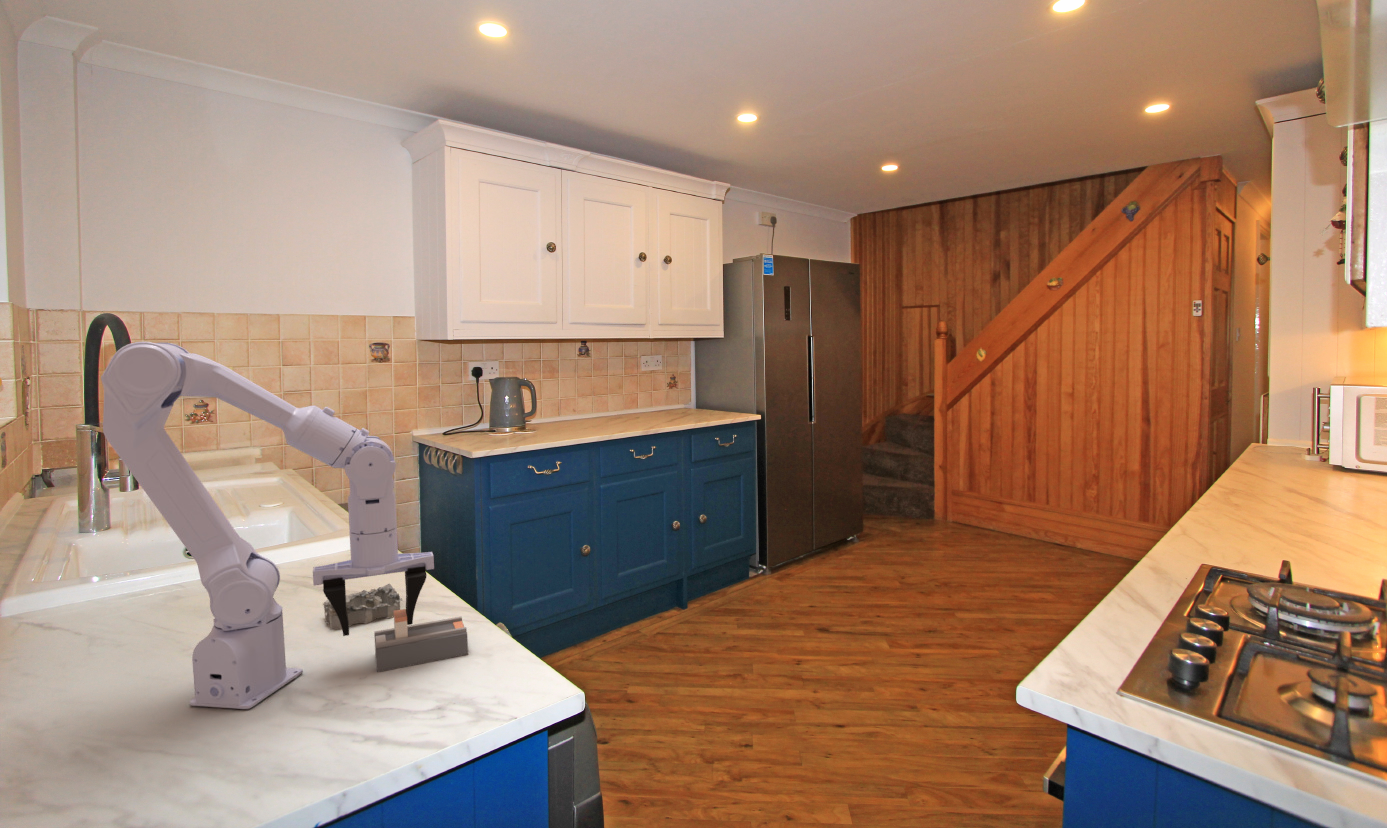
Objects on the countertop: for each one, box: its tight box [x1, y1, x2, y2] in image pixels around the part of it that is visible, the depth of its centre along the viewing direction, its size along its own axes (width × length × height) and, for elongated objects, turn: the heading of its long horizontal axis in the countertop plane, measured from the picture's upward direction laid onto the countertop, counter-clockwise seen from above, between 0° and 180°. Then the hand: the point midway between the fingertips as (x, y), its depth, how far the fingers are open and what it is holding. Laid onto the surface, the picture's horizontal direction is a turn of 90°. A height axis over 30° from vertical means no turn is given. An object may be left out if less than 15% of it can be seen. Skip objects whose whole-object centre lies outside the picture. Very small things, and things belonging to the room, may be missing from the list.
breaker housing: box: [373, 616, 469, 673], centre depth 94 cm, size 12×6×4 cm, turn 117°
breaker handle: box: [393, 608, 408, 639], centre depth 93 cm, size 2×3×3 cm, turn 27°
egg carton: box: [322, 583, 403, 630], centre depth 108 cm, size 11×8×4 cm
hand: (378, 627), depth 91 cm, fingers open, 7 cm apart
